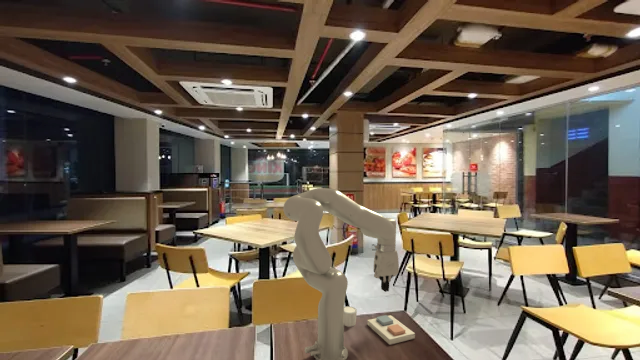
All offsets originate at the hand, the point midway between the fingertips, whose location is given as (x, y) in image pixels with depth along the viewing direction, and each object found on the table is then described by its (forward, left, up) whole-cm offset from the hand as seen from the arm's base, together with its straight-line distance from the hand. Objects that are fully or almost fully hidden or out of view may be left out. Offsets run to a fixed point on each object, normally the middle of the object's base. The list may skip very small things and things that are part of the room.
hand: (385, 290), depth 128 cm
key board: (0, -4, -17) cm, 17 cm away
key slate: (0, 0, -15) cm, 15 cm away
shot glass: (-13, +8, -17) cm, 23 cm away
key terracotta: (0, -8, -15) cm, 17 cm away
